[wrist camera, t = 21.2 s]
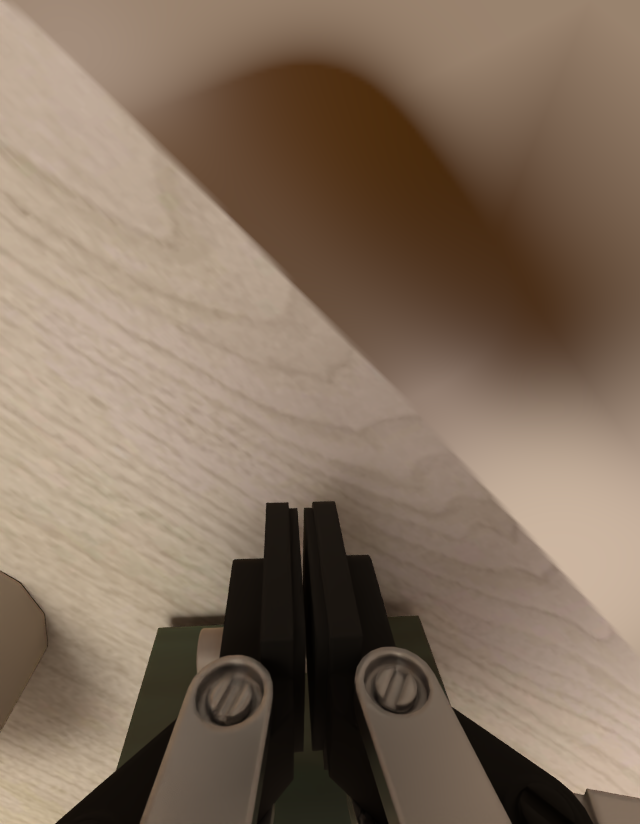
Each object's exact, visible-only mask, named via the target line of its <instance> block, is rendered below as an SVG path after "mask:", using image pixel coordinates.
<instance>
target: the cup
mask: <svg viewBox="0 0 640 824" xmlns="http://www.w3.org/2000/svg"><path fill="white" fill-rule="evenodd" d="M47 646H48V643H47V634H46V626H45V617H44V613H43V612H42V611H41V609H40V608H39V607H38V606H37V604H36V603H35V602H34V600H33V599H32V598H31V597H30V595H29V594H28V593H27V591H26V590H25V589H24V588H23V586H22V585H21V584H20V583H19V582H17V581H16V580H14V579H12V578H10V577H9V576H7V575H5V574H4V573H2V572H0V732H1V730H2V728H3V726H4V725H5V723H6V721H7V719H8V717H9V715H10V714H11V712H12V710H13V708H14V706H15V705H16V703H17V701H18V699H19V697H20V695H21V694H22V692H23V690H24V688H25V686H26V684H27V683H28V681H29V679H30V677H31V675H32V674H33V672H34V670H35V668H36V666H37V664H38V663H39V661H40V659H41V657H42V655H43V653H44V652H45V650H46V648H47Z"/></svg>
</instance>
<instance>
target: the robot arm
mask: <svg viewBox="0 0 640 824" xmlns="http://www.w3.org/2000/svg"><path fill="white" fill-rule="evenodd" d="M306 665H307V680H308V696H309V711H310V727H311V742H312V751H322V752H323V764H324V770H328V774H329V777H330V778H331V779H332V780H333V781H334V782H335V783H336V784H337V785H338V786H339V787H340V788H341V789H342V790H343V791H345V792H346V800H347V807H348V811H349V815H350V819H351V823H352V824H640V798H635V797H629V796H624V795H618V794H613V793H608V792H602V791H597V790H591V789H586V792H585V794H584V795H581V794H576V793H573V792H571V791H570V790H569V789H568V788H567V787H566V786H564V785H563V784H562V783H561V782H560V781H558V780H557V779H556V778H554V777H553V776H551V775H550V774H549V773H547V772H546V771H544V770H543V769H541V768H540V767H538V766H537V765H536V764H534V763H533V762H531V761H530V760H528V759H527V758H525V757H524V756H522V755H521V754H520V753H518V752H517V751H515V750H514V749H512V748H511V747H509V746H508V745H506V744H505V743H504V742H502V741H501V740H499V739H498V738H496V737H495V736H493V735H492V734H491V733H489V732H488V731H486V730H485V729H483V728H482V727H480V726H479V725H477V724H476V723H475V722H473V721H472V720H470V719H469V718H467V717H466V716H464V715H463V714H461V713H460V712H459V711H457V710H456V709H454V708H453V707H451V705H450V703H449V701H448V699H447V697H446V695H445V693H444V691H443V690H442V688H441V686H440V684H439V682H438V680H437V678H436V676H435V674H434V673H433V671H432V670H431V668H430V667H429V666H428V664H427V663H426V662H425V661H424V660H422V659H421V658H420V657H419V656H418V655H416V654H414V653H412V652H410V651H408V650H406V649H402V648H397V647H396V645H395V642H394V638H393V635H392V631H391V628H390V624H389V621H388V617H387V613H386V610H385V606H384V603H383V599H382V596H381V592H380V589H379V585H378V582H377V578H376V574H375V571H374V567H373V564H372V560H371V558H370V556H369V555H346V552H345V547H344V543H343V538H342V533H341V528H340V523H339V519H338V514H337V509H336V504H335V502H334V501H328V502H313V503H312V508H304V535H303V585H302V570H301V555H300V540H299V525H298V511H297V508H289V503H288V502H286V503H266V523H265V546H264V558H260V559H234V560H233V564H232V570H231V577H230V584H229V592H228V599H227V606H226V613H225V621H224V628H223V635H222V642H221V649H220V657H219V659H216V660H214V661H212V662H210V663H209V664H207V665H206V666H204V667H203V668H202V669H201V670H200V671H199V672H198V673H197V674H196V675H195V676H194V678H193V680H192V682H191V684H190V686H189V687H188V690H187V692H186V695H185V698H184V701H183V704H182V706H181V709H180V712H179V715H178V718H176V719H175V720H174V721H173V722H172V723H171V724H170V725H168V726H167V727H166V728H165V729H164V730H163V731H161V732H160V733H159V734H158V735H157V736H156V737H154V738H153V739H152V740H151V741H150V742H149V743H148V744H146V745H145V746H144V747H143V748H142V749H141V750H139V751H138V752H137V753H136V754H135V755H134V756H133V757H131V758H130V759H129V760H128V761H127V762H126V763H124V764H123V765H122V766H121V767H120V768H119V769H118V770H116V771H115V772H114V773H113V774H112V775H111V776H109V777H108V778H107V779H106V780H105V781H104V782H103V783H101V784H100V785H99V786H98V787H97V788H96V789H94V790H93V791H92V792H91V793H90V794H89V795H87V796H86V797H85V798H84V799H83V800H82V801H81V802H79V803H78V804H77V805H76V806H75V807H74V808H72V809H71V810H70V811H69V812H68V813H67V814H66V815H64V816H63V817H62V818H61V819H60V820H59V821H58V822H57V823H56V824H273V821H274V814H275V802H276V801H277V799H278V798H279V797H280V796H281V794H282V793H283V792H284V791H285V789H286V788H287V787H288V786H289V785H290V783H291V782H292V781H293V780H294V752H304V713H305V667H306Z"/></svg>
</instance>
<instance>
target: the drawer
mask: <svg viewBox="0 0 640 824" xmlns="http://www.w3.org/2000/svg"><path fill="white" fill-rule="evenodd" d="M388 621H389V624H390V628H391V631H392V635H393V638H394V642H395V645H396V647H397V648H402V649H406V650H408V651H410V652H412V653H414V654H416V655H418V656H419V657H420V658H421V659H422V660H424V661H425V662H426V663H427V664H428V666H429V667H430V668H431V670H432V671H433V673H434V674H435V676H436V678H437V680H438V682H439V684H440V686H441V688H442V690H443V691H444V693H445V695H446V697H447V699H448V696H447V694H446V691H445V688H444V685H443V682H442V680H441V677H440V674H439V671H438V668H437V666H436V663H435V660H434V657H433V654H432V652H431V649H430V646H429V643H428V640H427V638H426V635H425V632H424V629H423V626H422V624H421V621H420V618H419V616H397V617H388ZM223 628H224V625H207V626H186V627H165V628H158V631H157V635H156V638H155V641H154V645H153V648H152V651H151V655H150V658H149V662H148V665H147V668H146V672H145V675H144V678H143V682H142V685H141V688H140V692H139V695H138V699H137V702H136V705H135V709H134V712H133V715H132V719H131V722H130V725H129V729H128V732H127V736H126V739H125V742H124V746H123V749H122V752H121V756H120V759H119V763H118V766H117V769H116V770H118V769H119V768H120V767H121V766H122V765H123V764H124V763H126V762H127V761H128V760H129V759H130V758H131V757H133V756H134V755H135V754H136V753H137V752H138V751H139V750H141V749H142V748H143V747H144V746H145V745H146V744H148V743H149V742H150V741H151V740H152V739H153V738H154V737H156V736H157V735H158V734H159V733H160V732H161V731H163V730H164V729H165V728H166V727H167V726H168V725H170V724H171V723H172V722H173V721H174V720H175V719H176V718H178V715H179V712H180V709H181V706H182V704H183V701H184V698H185V695H186V692H187V690H188V687H189V686H190V684H191V682H192V680H193V678H194V676H195V675H196V674H197V673H198V672H199V671H200V670H201V669H202V668H203V667H204V666H206V665H207V664H209V663H210V662H212V661H214V660H216V659H219V657H220V649H221V642H222V635H223ZM448 701H449V699H448ZM449 703H450V702H449ZM273 824H352V823H351V819H350V815H349V811H348V807H347V800H346V792H345V791H343V790H342V789H341V788H340V787H339V786H338V785H337V784H336V783H335V782H334V781H333V780H332V779H331V778H330V777H329V774H328V770H324V764H323V752H322V751H312V742H311V727H310V711H309V696H308V680H307V665H306V667H305V713H304V752H294V780H293V781H292V782H291V783H290V785H289V786H288V787H287V788H286V789H285V791H284V792H283V793H282V794H281V796H280V797H279V798H278V799H277V801H276V802H275V814H274V821H273Z"/></svg>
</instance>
